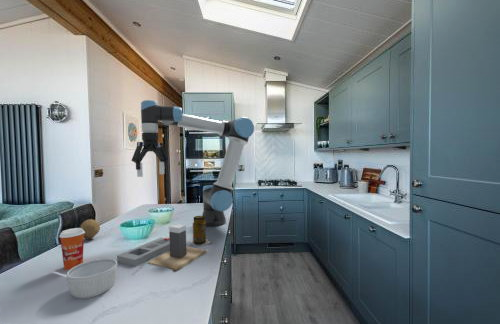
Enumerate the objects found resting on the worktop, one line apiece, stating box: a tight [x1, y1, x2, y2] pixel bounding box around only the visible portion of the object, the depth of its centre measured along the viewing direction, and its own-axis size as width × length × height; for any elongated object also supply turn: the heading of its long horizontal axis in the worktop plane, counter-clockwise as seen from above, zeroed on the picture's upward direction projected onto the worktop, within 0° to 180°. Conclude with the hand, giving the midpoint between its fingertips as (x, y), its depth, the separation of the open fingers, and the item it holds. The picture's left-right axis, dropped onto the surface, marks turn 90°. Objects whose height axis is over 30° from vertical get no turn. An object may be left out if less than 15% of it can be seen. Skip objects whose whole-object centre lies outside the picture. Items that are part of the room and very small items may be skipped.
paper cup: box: [59, 227, 85, 271], centre depth 90 cm, size 8×8×14 cm
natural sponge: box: [79, 218, 101, 240], centre depth 122 cm, size 9×9×10 cm
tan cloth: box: [147, 245, 207, 272], centre depth 97 cm, size 18×14×1 cm
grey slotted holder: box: [116, 236, 170, 268], centre depth 101 cm, size 22×10×4 cm, turn 154°
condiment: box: [189, 215, 212, 247], centre depth 114 cm, size 7×8×12 cm
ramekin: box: [66, 257, 118, 299], centre depth 75 cm, size 13×13×7 cm
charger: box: [168, 223, 187, 259], centre depth 96 cm, size 4×5×12 cm
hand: (151, 175), depth 120 cm, fingers open, 13 cm apart
